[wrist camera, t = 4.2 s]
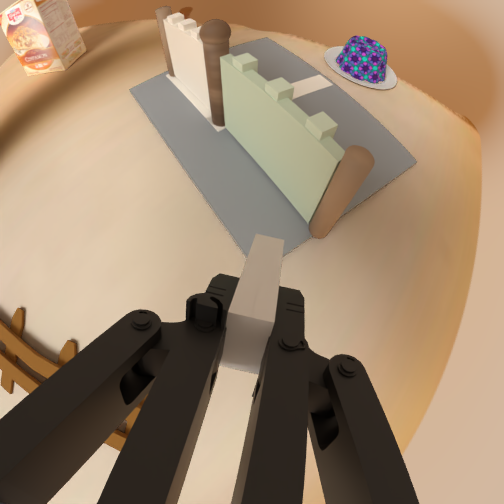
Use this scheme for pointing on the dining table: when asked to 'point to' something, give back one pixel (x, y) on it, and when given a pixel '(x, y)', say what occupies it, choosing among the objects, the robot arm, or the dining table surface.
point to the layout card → (241, 162)
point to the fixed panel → (184, 52)
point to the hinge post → (215, 63)
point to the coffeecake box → (42, 35)
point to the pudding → (362, 62)
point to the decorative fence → (42, 368)
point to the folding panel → (291, 144)
